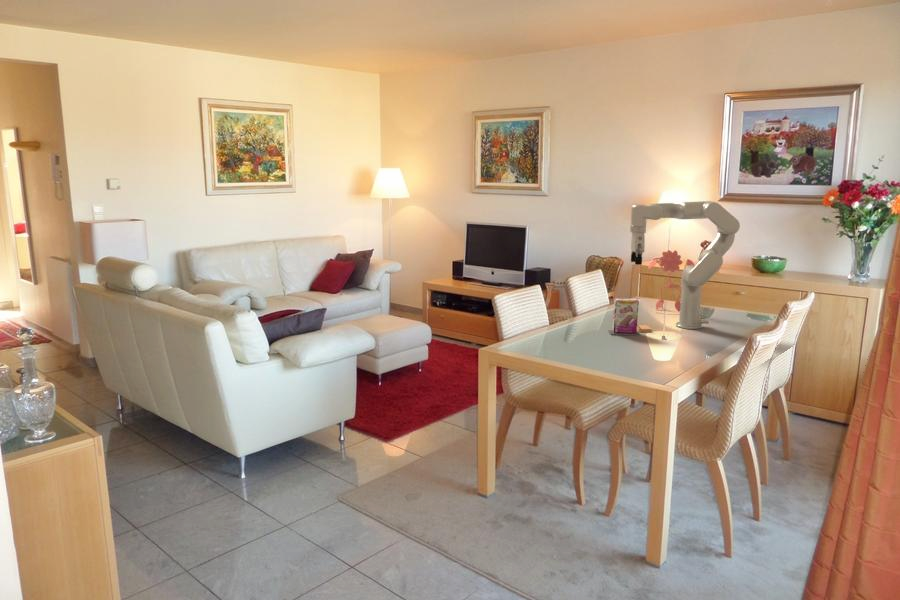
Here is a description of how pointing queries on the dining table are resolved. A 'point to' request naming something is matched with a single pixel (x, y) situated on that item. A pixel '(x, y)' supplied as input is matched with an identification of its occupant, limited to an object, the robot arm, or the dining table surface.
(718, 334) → the dining table surface
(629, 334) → the rubber pad
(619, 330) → the candy bar box
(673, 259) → the pink artificial flower
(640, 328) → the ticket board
